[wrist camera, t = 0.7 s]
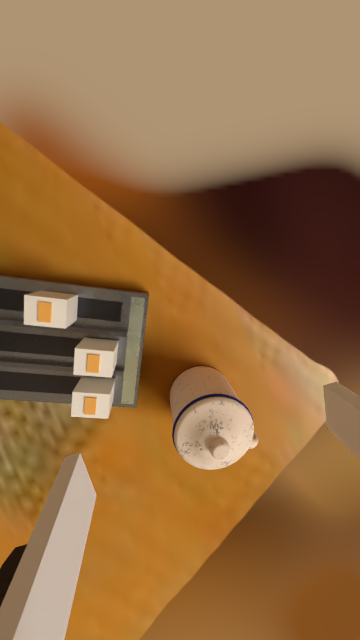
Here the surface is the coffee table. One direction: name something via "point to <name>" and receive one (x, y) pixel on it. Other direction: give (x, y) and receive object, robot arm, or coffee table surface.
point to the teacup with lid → (209, 419)
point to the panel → (68, 340)
